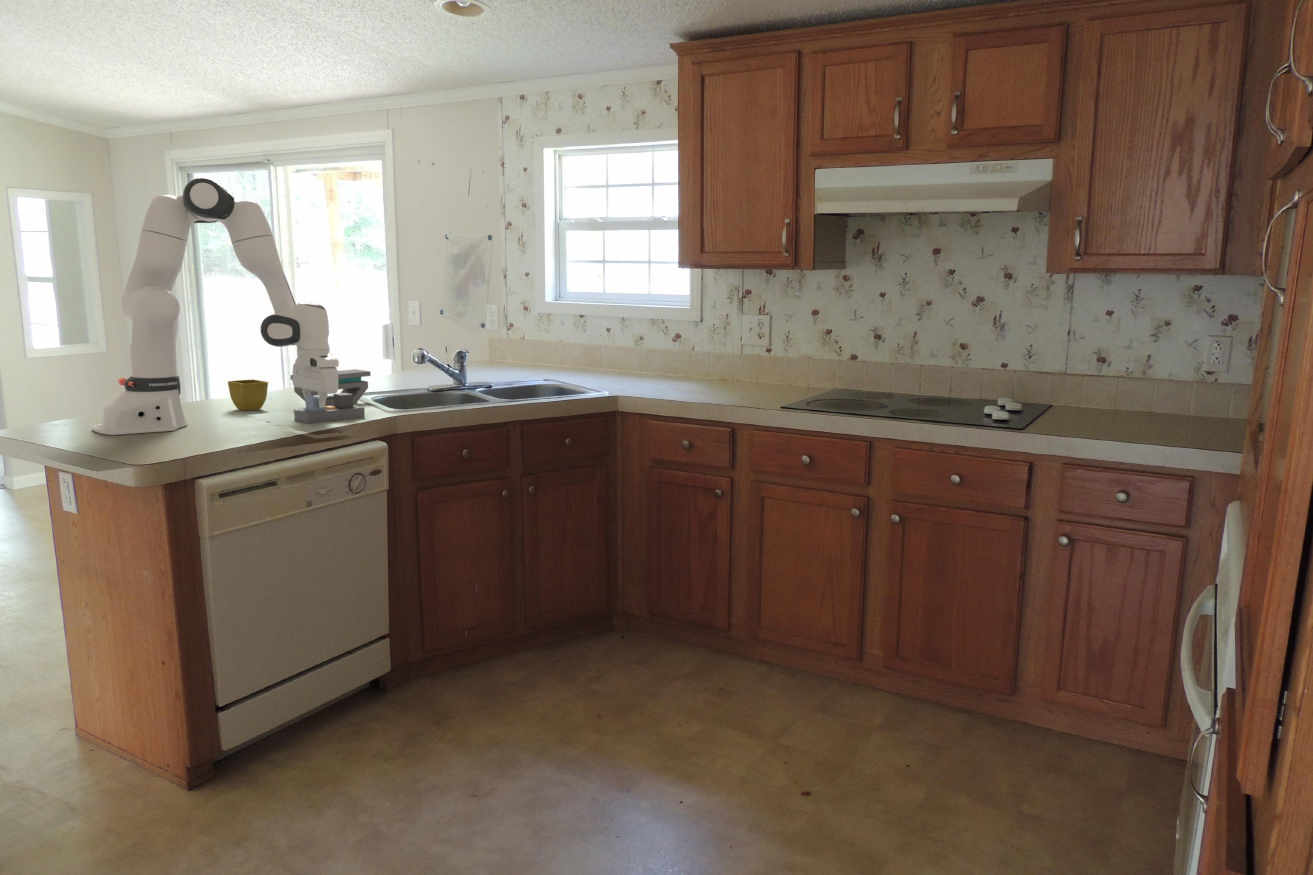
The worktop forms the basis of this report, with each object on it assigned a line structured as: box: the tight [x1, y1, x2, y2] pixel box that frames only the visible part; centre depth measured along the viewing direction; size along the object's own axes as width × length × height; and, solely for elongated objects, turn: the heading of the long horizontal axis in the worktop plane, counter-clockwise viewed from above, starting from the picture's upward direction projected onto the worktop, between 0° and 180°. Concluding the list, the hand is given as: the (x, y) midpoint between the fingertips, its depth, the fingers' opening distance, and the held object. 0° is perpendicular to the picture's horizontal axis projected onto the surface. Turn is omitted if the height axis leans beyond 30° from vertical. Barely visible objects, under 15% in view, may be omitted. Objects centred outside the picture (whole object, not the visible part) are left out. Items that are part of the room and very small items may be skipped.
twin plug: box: [333, 392, 353, 409], centre depth 267 cm, size 4×4×7 cm
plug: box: [305, 395, 326, 412], centre depth 261 cm, size 4×4×7 cm
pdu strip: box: [293, 404, 366, 425], centre depth 264 cm, size 18×8×5 cm, turn 139°
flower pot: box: [227, 378, 269, 412], centre depth 280 cm, size 9×9×9 cm
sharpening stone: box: [290, 368, 372, 406], centre depth 293 cm, size 25×8×11 cm, turn 147°
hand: (315, 405), depth 260 cm, fingers open, 5 cm apart
